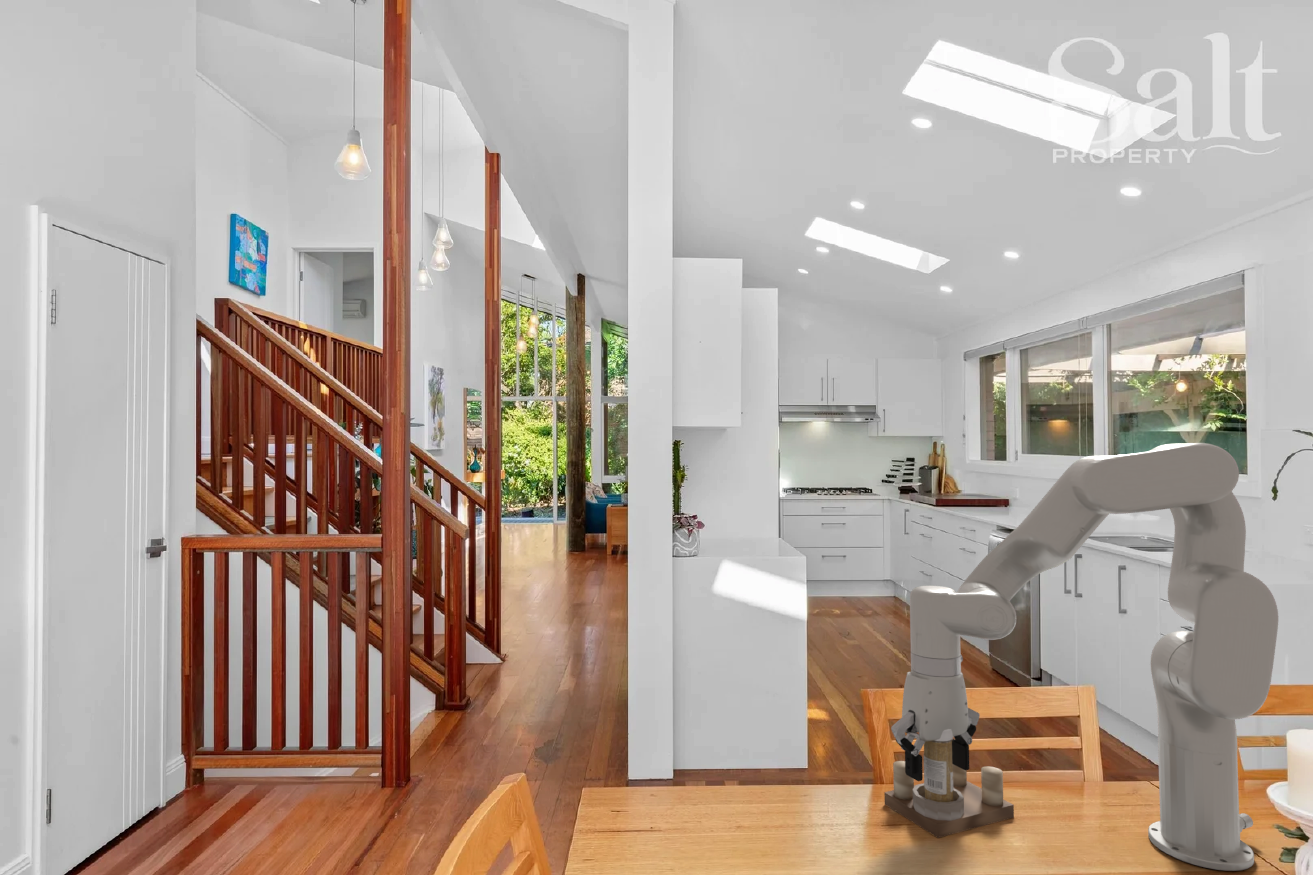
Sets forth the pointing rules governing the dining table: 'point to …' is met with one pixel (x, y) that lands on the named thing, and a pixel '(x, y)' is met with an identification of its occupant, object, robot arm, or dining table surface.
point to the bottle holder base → (956, 816)
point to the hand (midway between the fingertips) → (937, 772)
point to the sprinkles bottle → (939, 768)
